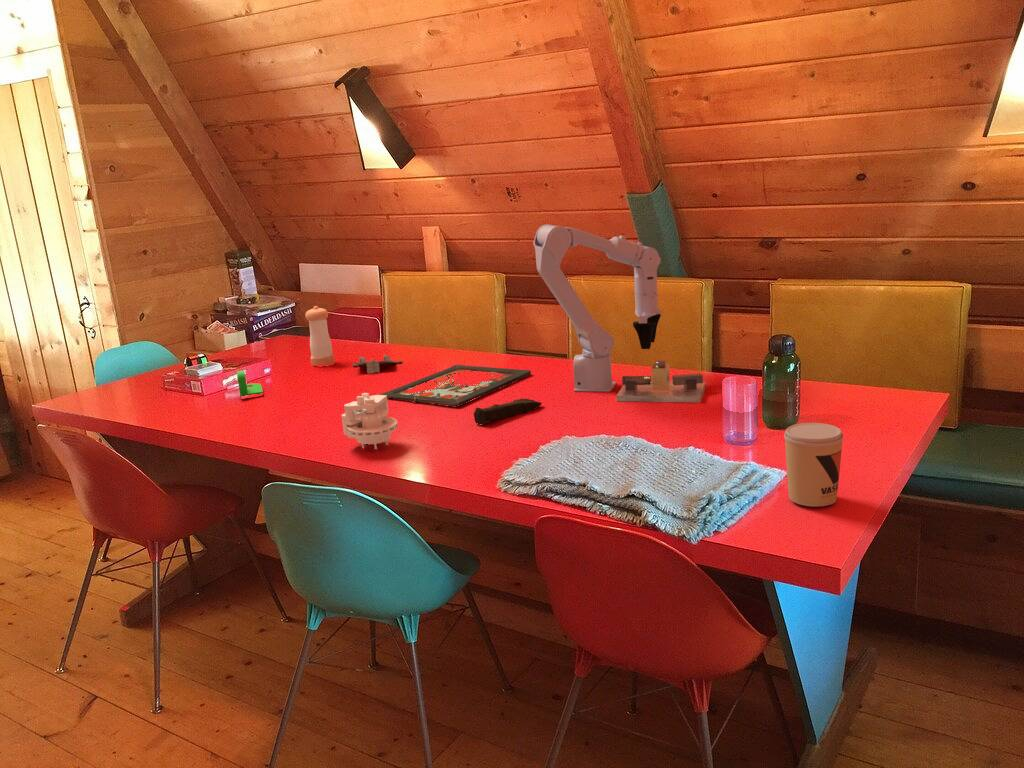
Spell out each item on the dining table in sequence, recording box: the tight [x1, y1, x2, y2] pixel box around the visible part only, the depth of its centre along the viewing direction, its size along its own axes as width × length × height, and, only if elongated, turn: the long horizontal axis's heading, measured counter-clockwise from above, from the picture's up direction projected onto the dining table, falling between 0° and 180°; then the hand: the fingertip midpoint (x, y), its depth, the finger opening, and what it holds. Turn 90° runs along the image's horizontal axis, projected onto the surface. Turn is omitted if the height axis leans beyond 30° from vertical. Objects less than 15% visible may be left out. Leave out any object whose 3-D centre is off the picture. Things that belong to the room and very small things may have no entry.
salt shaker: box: [304, 305, 336, 366], centre depth 275 cm, size 7×7×19 cm
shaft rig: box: [615, 372, 707, 404], centre depth 218 cm, size 20×14×5 cm
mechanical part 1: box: [236, 370, 264, 397], centre depth 249 cm, size 12×6×8 cm, turn 19°
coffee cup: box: [783, 422, 844, 508], centre depth 149 cm, size 9×9×12 cm
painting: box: [378, 364, 532, 407], centre depth 240 cm, size 28×35×2 cm
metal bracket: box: [352, 354, 403, 374], centre depth 267 cm, size 14×6×15 cm
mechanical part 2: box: [341, 392, 399, 450], centre depth 194 cm, size 11×12×12 cm
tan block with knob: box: [651, 359, 671, 390], centre depth 217 cm, size 4×4×7 cm
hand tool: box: [473, 398, 543, 426], centre depth 210 cm, size 19×4×5 cm
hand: (648, 345), depth 230 cm, fingers open, 7 cm apart
